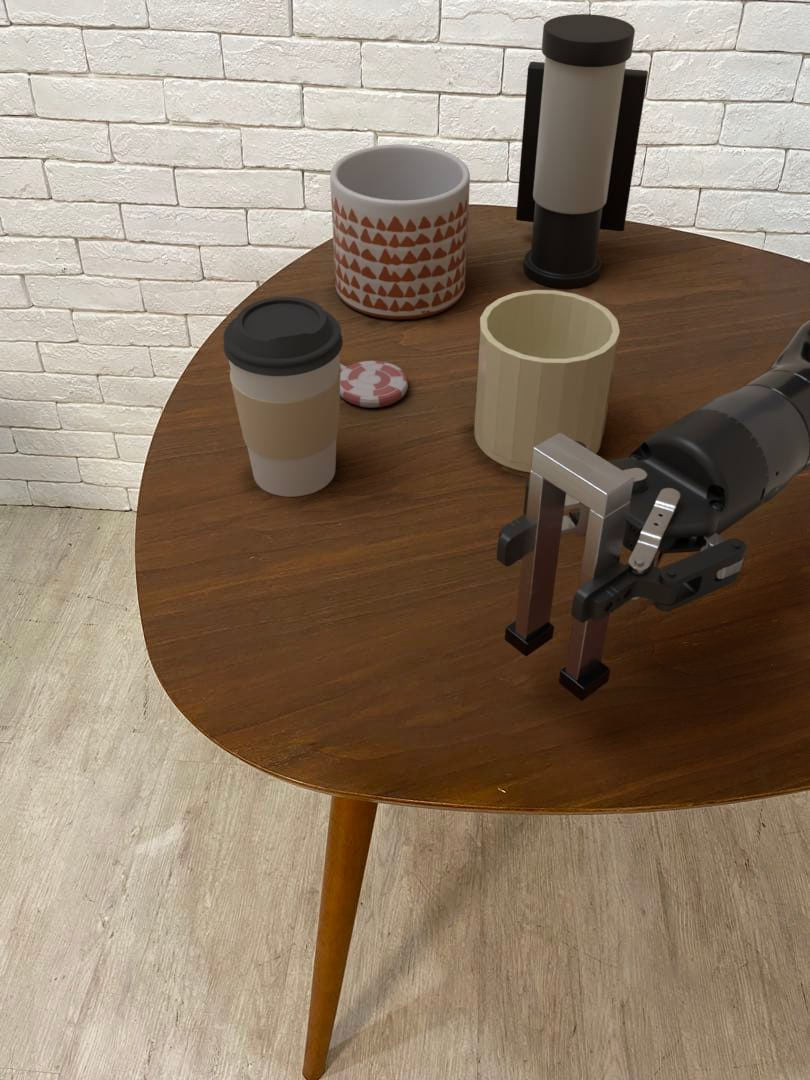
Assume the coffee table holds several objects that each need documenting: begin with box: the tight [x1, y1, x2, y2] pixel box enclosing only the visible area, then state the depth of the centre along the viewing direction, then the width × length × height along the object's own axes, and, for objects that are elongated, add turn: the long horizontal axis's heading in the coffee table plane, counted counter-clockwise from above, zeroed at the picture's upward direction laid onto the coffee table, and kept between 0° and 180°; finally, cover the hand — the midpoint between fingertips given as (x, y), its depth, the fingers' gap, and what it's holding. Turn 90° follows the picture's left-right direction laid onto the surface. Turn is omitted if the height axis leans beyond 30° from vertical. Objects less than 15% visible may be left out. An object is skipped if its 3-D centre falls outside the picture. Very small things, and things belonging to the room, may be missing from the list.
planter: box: [329, 143, 471, 321], centre depth 107 cm, size 14×14×13 cm
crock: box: [473, 289, 621, 474], centre depth 89 cm, size 11×11×11 cm
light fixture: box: [515, 13, 649, 289], centre depth 107 cm, size 12×11×25 cm
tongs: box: [504, 433, 634, 702], centre depth 62 cm, size 7×2×16 cm, turn 40°
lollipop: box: [339, 360, 409, 409], centre depth 99 cm, size 7×1×15 cm
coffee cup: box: [222, 296, 344, 498], centre depth 83 cm, size 9×9×15 cm
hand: (539, 579), depth 60 cm, fingers closed on tongs, 5 cm apart
